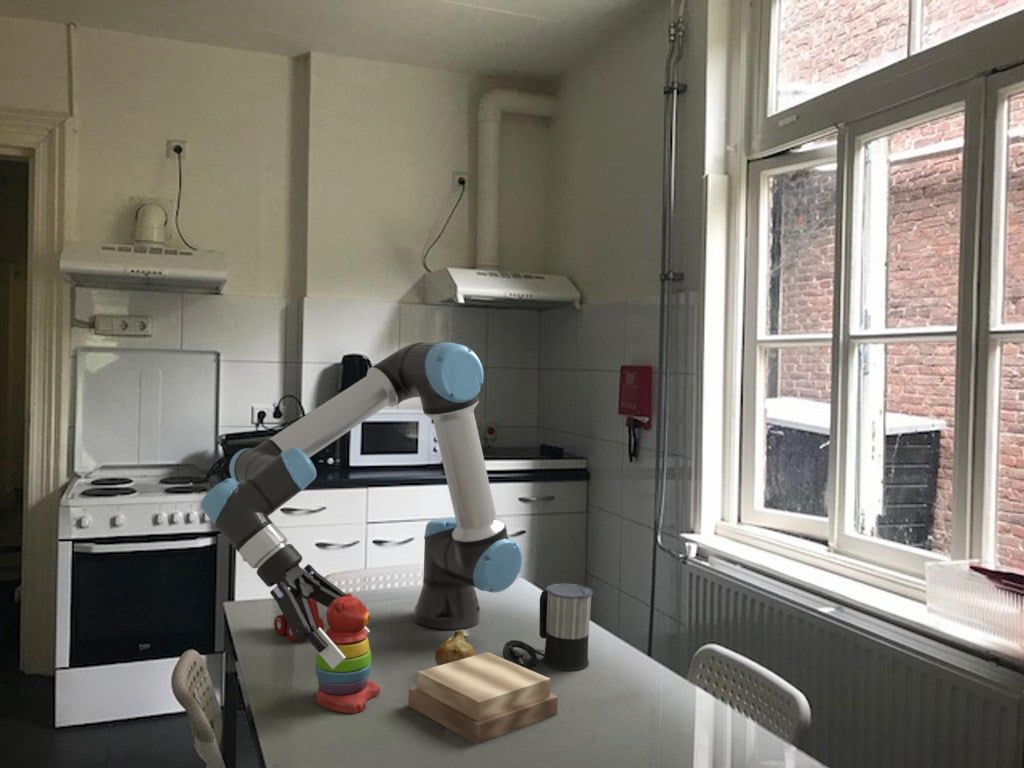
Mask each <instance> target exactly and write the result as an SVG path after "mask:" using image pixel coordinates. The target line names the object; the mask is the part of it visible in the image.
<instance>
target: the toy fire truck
mask: <svg viewBox="0 0 1024 768" xmlns="http://www.w3.org/2000/svg"><path fill="white" fill-rule="evenodd" d="M307 602H308V605H309V608H310V611H311V614H312V617H313V620H314V623H315V625H316V630H317V629H318V628H321V629H322V630H323V631H324V632H325V624H324V621H323V619H322V617H320V614H319V613H320V612H319V608H318V602H317V601H315V600H313V599H311V598H309V599H307ZM273 626H274V630H275V632H276V634H277V635H279V636H284V635H286V636H287V639H288V640H289V641H290V642H292V643H294V641H295V642H297V641H298V642H299V640H297V639H296V638H295V637H294V635H293V633H292V631H291V629H290V627H289V625H288V623H287V621H286V619H285V617H284V615H283V614H279V615H277V616H276V617H275V618H274V621H273ZM298 630H299V628H298Z"/></svg>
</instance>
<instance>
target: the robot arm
mask: <svg viewBox="0 0 1024 768" xmlns="http://www.w3.org/2000/svg"><path fill="white" fill-rule="evenodd" d="M483 383H484V368H483V365H482V362H481V360H480V359H479V357H478V355H477V354H476V353H475V352H474V350H472V349H470V348H469V347H468V346H466V345H463V344H459V343H455V342H452V341H451V342H450V341H445V342H414V343H410V344H408V345H406V346H404V347H402V348H400V349H398V350H397V351H395V352H393V353H392V354H390V355H388V356H386V357H385V358H384V359H382V360H380V361H379V362H378V363H376V364H374V365H372V366H371V367H370V368H369V369H367V372H366V376H365V377H363V378H361V379H360V380H359V381H357V382H355V383H354V384H352V385H351V386H349V387H348V388H346V389H344V390H343V391H341V392H340V393H338V394H337V395H335V396H334V397H332V398H330V399H329V400H328V401H325V402H324V403H323V404H321V405H319V406H318V407H317V408H314V409H313V410H312V411H310V412H309V413H307V414H305V415H304V416H302V417H301V418H298V420H296V421H295V422H294V423H292V424H291V425H288V426H287V427H286V428H283V429H282V430H281V431H279V432H278V433H277V434H274V435H273V436H272V437H270V438H269V439H266V440H265V441H263V442H262V443H260V444H258V445H257V446H255V447H251V448H250V447H248V448H243V449H241V450H239V451H238V452H236V453H235V454H234V455H233V456H232V458H231V459H230V462H229V473H230V477H229V478H225V480H223V481H222V482H219V483H218V484H216V485H215V486H214V487H212V488H211V489H210V490H209V491H208V492H207V493H206V494H205V495H204V496H203V498H202V500H201V505H200V507H201V509H202V510H203V512H204V514H206V515H207V517H208V519H209V520H210V521H211V522H212V524H213V526H214V527H215V528H216V529H218V531H219V532H220V533H221V534H222V536H223V537H224V538H225V539H226V540H227V541H228V543H230V544H231V546H232V547H233V548H234V549H235V550H236V551H237V553H239V554H240V556H241V557H242V561H243V562H246V563H247V565H249V567H250V568H251V569H257V570H256V575H257V576H258V577H259V578H260V580H261V581H262V582H263V583H264V584H265V585H266V587H269V588H271V587H273V586H275V585H276V586H275V587H273V588H272V589H271V590H270V591H269V592H270V595H271V596H272V598H273V599H274V600H275V601H276V603H277V605H278V607H279V609H280V611H281V613H282V615H284V617H285V619H286V621H287V623H288V625H289V627H290V629H291V631H292V633H293V635H294V637H295V638H296V639H297V640H298V642H300V643H304V641H306V640H307V642H308V643H309V644H310V645H311V646H312V647H313V648H314V650H316V651H317V652H318V653H319V654H320V655H321V656H322V657H323V659H324V660H325V661H326V662H327V663H328V664H329V666H330V667H331V668H332V669H334V668H335V667H336V666H337V665H338V664H339V663H340V662H341V661H342V660H344V659H345V658H346V657H345V656H344V654H343V653H342V652H341V651H340V650H339V649H338V647H337V646H336V645H335V644H334V643H333V642H332V641H331V639H330V638H329V637H328V636H327V635H326V634H325V632H326V631H325V630H324V631H323V630H322V629H321V628H318V629H317V630H316V625H315V623H314V620H313V617H312V614H311V611H310V608H309V605H308V602H307V599H309V598H311V599H313V600H315V601H316V602H317V603H319V604H321V605H323V606H324V607H327V608H328V607H329V605H330V603H331V602H332V601H334V600H335V599H337V598H339V597H345V595H346V594H347V593H345V592H344V591H342V590H341V589H340V588H339V587H337V586H336V585H335V584H333V583H332V582H330V581H329V580H328V579H327V578H326V577H324V576H323V575H321V574H320V573H319V572H318V571H317V570H315V568H314V567H313V566H312V565H311V564H307V565H306V566H304V568H302V567H301V566H300V563H301V562H302V560H303V555H302V554H301V553H300V552H299V551H298V549H296V548H295V547H294V545H293V544H290V543H288V544H287V542H288V538H287V537H286V535H284V533H283V532H282V531H281V530H280V529H279V527H278V526H277V525H275V523H274V522H273V521H272V520H271V519H270V518H269V516H271V515H272V514H273V513H274V512H276V511H277V510H278V509H280V508H281V507H282V506H283V505H284V504H286V503H287V502H289V501H290V500H291V499H293V498H294V497H295V496H296V495H297V494H299V493H300V492H301V491H304V490H305V489H306V488H307V487H308V485H310V484H312V482H313V481H314V480H315V479H316V478H317V469H316V467H315V465H314V463H313V462H312V460H311V459H310V458H311V457H313V456H314V455H316V454H317V453H318V452H320V451H322V450H323V449H324V448H327V446H329V445H330V444H332V443H333V442H335V441H337V440H338V439H340V438H341V437H342V436H344V435H345V434H347V433H348V432H350V431H351V430H353V429H354V428H356V427H357V426H359V425H360V424H362V423H363V422H364V421H366V420H368V419H369V418H371V417H372V416H375V414H377V413H379V412H380V411H381V410H383V409H384V408H386V407H390V408H393V407H395V406H398V405H399V404H401V403H402V402H403V401H407V400H409V399H414V398H420V403H421V406H422V411H423V414H424V415H425V416H427V417H428V418H430V419H431V420H432V421H433V422H432V423H433V425H434V431H435V435H436V439H437V443H438V448H439V451H440V457H441V461H442V464H443V465H442V466H443V469H444V474H445V478H446V483H447V486H448V487H447V488H448V491H449V496H450V500H451V504H452V509H453V514H454V517H453V518H440V519H439V518H438V519H433V520H430V521H428V522H427V524H426V526H425V530H424V531H425V532H424V536H423V539H424V552H423V553H424V554H423V555H424V556H423V577H422V578H423V581H422V583H423V584H422V588H421V590H420V593H419V597H418V600H417V604H416V605H415V606H414V612H413V614H414V615H413V620H414V622H415V623H417V624H419V625H420V626H423V627H426V628H431V629H436V630H437V629H438V630H463V629H467V628H471V627H474V626H476V625H478V624H479V623H480V622H481V612H482V611H481V607H480V605H479V600H478V597H477V592H476V590H475V588H476V589H477V590H479V591H482V592H489V593H493V594H494V593H500V592H502V591H505V590H507V589H508V588H510V587H511V586H512V585H513V584H514V583H515V581H516V580H517V578H518V575H519V574H520V573H521V570H522V567H523V553H522V549H521V547H520V546H519V544H517V543H516V542H515V541H514V540H512V539H510V538H509V534H508V530H507V525H506V522H505V520H504V519H502V518H500V516H497V513H496V509H495V504H494V500H493V495H492V490H491V486H490V481H489V476H488V471H487V466H486V463H485V458H484V453H483V449H482V445H481V441H480V439H481V438H480V435H479V431H478V430H479V429H478V427H477V426H478V425H477V421H476V418H475V413H474V410H475V409H476V407H477V406H478V405H479V402H480V401H479V397H478V394H479V392H480V391H481V389H482V388H481V386H482V385H483ZM298 628H299V630H298ZM363 629H364V630H365V631H366V633H367V634H369V633H370V632H371V631H370V629H369V628H368V627H367V625H366V626H365V627H364V628H363Z"/></svg>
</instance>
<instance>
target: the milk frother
mask: <svg viewBox="0 0 1024 768" xmlns="http://www.w3.org/2000/svg"><path fill="white" fill-rule="evenodd" d="M592 595H593V590H592V589H591V588H590V587H587V586H584V585H581V584H576V583H575V584H574V583H554V584H552V585H548V586H547V587H546V588H545V589H544V590H542V591H541V594H540V595H539V619H538V621H539V637H540V638H541V639H545V645H544V653H541V652H539V651H538V650H536V649H535V648H534V647H532V646H531V645H529V644H527V643H525V642H524V641H522V640H516V639H511V640H509V641H506V643H505V644H504V646H503V647H502V648H503V649H502V655H503V659H505V660H508V661H510V662H512V663H515V664H517V665H519V666H522V667H524V668H526V669H527V668H531V667H533V666H534V665H535V664H536V663H537V660H538V659H537V658H538V657H537V655H540V656H541V657H543V658H542V662H543V663H544V664H545V665H546V666H548V667H550V668H551V669H556V670H561V671H579V670H583V669H585V668H588V666H589V664H590V661H589V639H590V638H589V635H590V633H589V632H590V621H591V606H592V602H591V601H592ZM514 648H518V649H522V650H524V651H525V652H526V653H528V655H529V656H530V658H529V660H527V661H526V660H525V661H524V660H523V658H524V654H523V653H520V652H519V651H518V650H516V649H514Z"/></svg>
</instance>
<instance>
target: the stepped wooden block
mask: <svg viewBox="0 0 1024 768" xmlns="http://www.w3.org/2000/svg"><path fill="white" fill-rule="evenodd" d="M416 681H417V682H416V686H412V687H409V688H408V701H407V703H408V704H407V706H408V707H410V708H411V709H413V710H415V711H416V710H417V712H418V713H420V714H422V715H424V716H425V717H427V718H429V719H431V720H433V721H434V722H436V723H438V724H440V725H442V726H444V727H445V728H447V729H449V730H450V731H452V732H453V733H456V734H458V735H459V736H461V737H463V738H464V739H466V740H469V741H471V742H472V743H474V744H476V745H478V744H479V745H480V744H481V743H484V742H486V741H490V740H492V739H495V738H498V737H500V736H503V735H505V734H508V733H511V732H514V731H517V730H519V729H521V728H524V727H528V726H530V725H532V724H535V723H538V722H540V721H543V720H546V719H548V718H551V717H553V716H556V715H558V705H559V696H557V695H555V694H553V693H551V678H550V677H547V676H545V675H543V674H540V673H538V672H536V671H534V670H530V669H529V668H527V667H526V668H524V667H522V666H519V665H517V664H515V663H512V662H510V661H508V660H505V658H504V657H501V656H498V655H497V654H496V655H495V654H493V653H491V652H488V651H487V652H483V653H480V654H479V653H478V654H476V656H472V657H468V658H465V659H461V660H458V661H454V662H450V663H447V664H443V665H440V666H438V665H437V666H433V667H429V668H426V669H422V670H419V671H418V670H417V680H416Z"/></svg>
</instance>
